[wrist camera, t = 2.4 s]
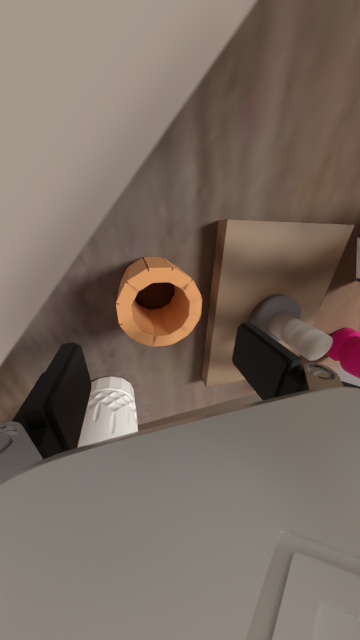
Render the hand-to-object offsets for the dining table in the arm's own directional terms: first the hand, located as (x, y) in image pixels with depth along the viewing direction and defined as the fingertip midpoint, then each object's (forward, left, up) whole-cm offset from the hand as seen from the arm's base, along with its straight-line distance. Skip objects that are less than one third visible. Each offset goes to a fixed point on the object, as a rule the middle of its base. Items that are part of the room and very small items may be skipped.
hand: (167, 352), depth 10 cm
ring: (-1, 0, -11) cm, 11 cm away
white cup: (+14, -7, -11) cm, 19 cm away
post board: (+3, +15, -11) cm, 19 cm away
